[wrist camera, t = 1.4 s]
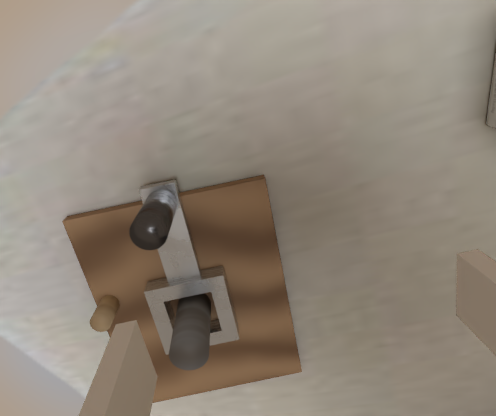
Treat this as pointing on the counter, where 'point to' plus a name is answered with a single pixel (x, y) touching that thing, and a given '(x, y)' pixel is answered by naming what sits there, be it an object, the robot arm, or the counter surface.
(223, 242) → the board
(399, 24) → the counter surface
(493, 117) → the tea box
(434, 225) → the counter surface
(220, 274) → the square frame with handle
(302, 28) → the counter surface
